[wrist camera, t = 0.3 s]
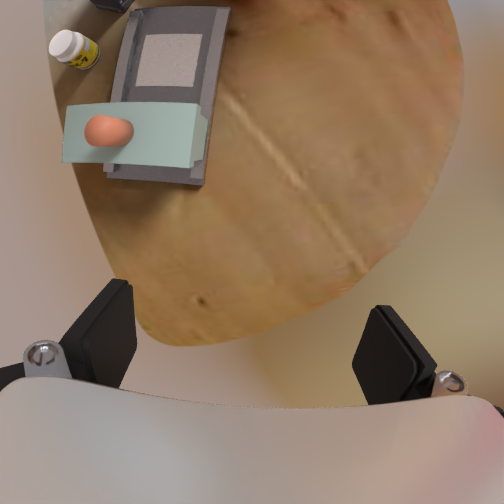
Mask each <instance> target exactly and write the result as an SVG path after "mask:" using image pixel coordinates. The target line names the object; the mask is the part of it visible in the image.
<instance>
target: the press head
mask: <svg viewBox="0 0 504 504" xmlns="http://www.w3.org/2000/svg"><path fill="white" fill-rule="evenodd" d="M200 112H201V107H200V106H199V105H198V104H193V103H173V102H116V103H96V104H82V105H71V106H67V111H66V118H65V127H64V137H63V149H62V150H63V151H62V163H68V162H69V163H116V164H137V165H154V166H168V167H180V168H191V167H193V166H194V161H197V160H202V159H203V154H204V146H205V138H206V131H207V124H208V120H207V119H206V118H205V117H204V116H202V115H201V114H200Z"/></svg>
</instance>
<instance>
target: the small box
mask: <svg viewBox="0 0 504 504" xmlns="http://www.w3.org/2000/svg"><path fill="white" fill-rule="evenodd" d="M90 1H91V2H93V3H94V4H95V5H96V7H97V8H103V9H107V10H111V11H115V12H120V13H125V12H126V11H127V9H128V8H129V6H130V5H131V4H132V3H133V1H134V0H90Z"/></svg>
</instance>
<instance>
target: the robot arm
mask: <svg viewBox="0 0 504 504" xmlns="http://www.w3.org/2000/svg"><path fill="white" fill-rule="evenodd" d="M136 348H137V338H136V327H135V315H134V301H133V287H132V285H129V284H128V281H127V280H121V279H114V278H113V279H112V280H111V281H110V282H109V283H108V284H107V285H106V287H105V288H104V289H103V290H102V291H101V292H100V293H99V295H97V297H96V298H95V299H94V300H93V301H92V302H91V304H90V305H89V306H88V307H87V308H86V309H85V310H84V312H83V313H82V314H81V315H80V316H79V318H78V319H77V320H76V321H75V322H74V324H73V325H72V326H71V327H70V328H69V330H68V331H67V332H66V333H65V335H64V336H63V338H62V339H61V340H60V342H59V343H57V342H54V341H50V340H42V341H37V342H35V343H33V344H31V345H29V346H28V347H27V348H26V350H25V351H24V354H23V362H22V363H18V364H14V365H11V366H7V367H3V368H0V504H504V411H503V410H502V409H501V408H499V407H496V406H493V405H491V404H490V403H489V402H488V401H486V400H484V399H481V398H477V397H472V396H470V395H468V394H467V392H468V386H467V383H466V381H465V380H464V379H463V377H461V376H460V375H459V374H457V373H455V372H453V371H449V370H443V371H440V372H438V373H437V374H436V373H435V372H434V371H435V369H436V367H437V364H436V362H435V361H434V360H433V358H432V357H431V356H430V354H429V353H428V352H427V350H426V349H425V348H424V347H423V345H422V344H421V343H420V341H419V340H418V339H417V338H416V336H415V335H414V334H413V333H412V331H411V330H410V329H409V328H408V326H407V325H406V324H405V323H404V321H403V320H402V319H401V318H400V317H399V315H398V314H397V313H396V312H395V311H394V309H393V308H392V307H391V306H388V305H387V306H386V305H377V306H376V307H375V308H373V309H372V310H371V312H370V314H369V317H368V320H367V323H366V326H365V329H364V332H363V335H362V337H361V340H360V342H359V345H358V348H357V350H356V353H355V355H354V358H353V361H352V368H353V370H354V373H355V375H356V377H357V379H358V382H359V384H360V386H361V388H362V391H363V393H364V395H365V398H366V400H367V402H368V405H364V406H351V407H334V408H304V409H303V408H297V409H296V408H288V409H287V408H258V407H241V406H228V405H218V404H209V403H200V402H192V401H185V400H178V399H171V398H165V397H158V396H153V395H148V394H143V393H138V392H133V391H128V390H124V389H119V386H120V384H121V382H122V380H123V377H124V375H125V373H126V371H127V369H128V366H129V364H130V362H131V360H132V358H133V356H134V353H135V351H136Z"/></svg>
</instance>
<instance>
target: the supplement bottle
mask: <svg viewBox="0 0 504 504" xmlns="http://www.w3.org/2000/svg"><path fill="white" fill-rule="evenodd" d="M49 53H50V54H51V55H52V56H54V57H56V59H57V60H58V61H60V62H62V63H65V64H67V65H70V66H72V67H75V68H77V69H80V70H85V69H88V68H90V67H91V66H93V65H94V64H95V63H96V62H97V60H98V58H99V56H100V47H99V45H98V44H96V43H95V42H93V41H92V40H90V39H89V38H87V37H85V36H84V35H82V34H81V33H78V32H72V31H70V30H62V31H60V32H59V33H57V34H56V35H55V36H54V37H53V39H52V40H51V42H50V45H49Z"/></svg>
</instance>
